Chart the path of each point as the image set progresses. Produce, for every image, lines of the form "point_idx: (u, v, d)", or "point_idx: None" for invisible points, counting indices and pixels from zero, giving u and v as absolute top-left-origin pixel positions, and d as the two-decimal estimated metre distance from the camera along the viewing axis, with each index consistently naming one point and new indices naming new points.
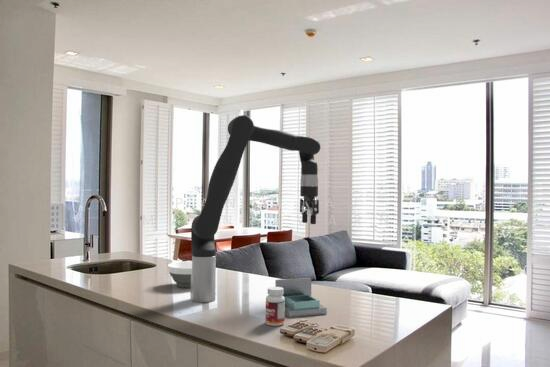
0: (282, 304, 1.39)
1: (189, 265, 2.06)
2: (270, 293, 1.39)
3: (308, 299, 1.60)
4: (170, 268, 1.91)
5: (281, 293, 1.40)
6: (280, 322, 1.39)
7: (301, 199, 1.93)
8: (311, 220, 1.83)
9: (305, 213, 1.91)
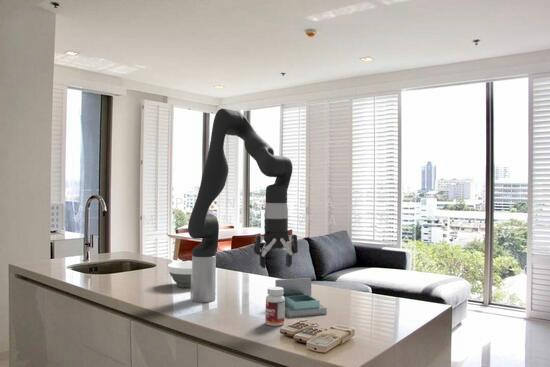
0: (282, 304, 1.39)
1: (189, 265, 2.06)
2: (270, 293, 1.39)
3: (308, 299, 1.60)
4: (170, 268, 1.91)
5: (281, 293, 1.40)
6: (280, 322, 1.39)
7: (260, 236, 1.39)
8: (290, 262, 1.42)
9: None
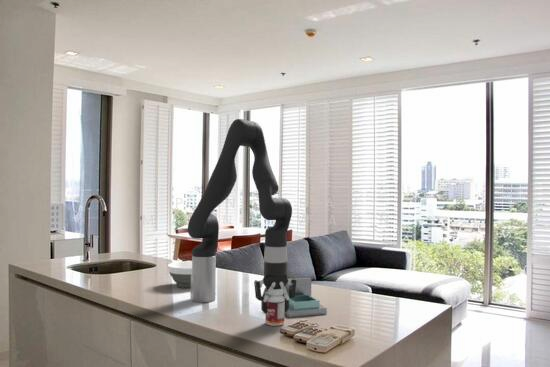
0: (282, 304, 1.39)
1: (189, 265, 2.06)
2: None
3: (308, 299, 1.60)
4: (170, 268, 1.91)
5: (281, 293, 1.40)
6: (280, 322, 1.39)
7: (259, 282, 1.38)
8: (286, 307, 1.42)
9: None
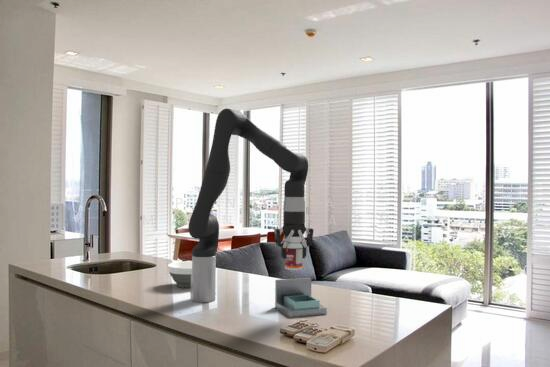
0: (300, 250, 1.50)
1: (189, 265, 2.06)
2: None
3: (308, 299, 1.60)
4: (170, 268, 1.91)
5: (299, 240, 1.50)
6: (298, 267, 1.49)
7: (279, 229, 1.49)
8: (304, 254, 1.52)
9: None
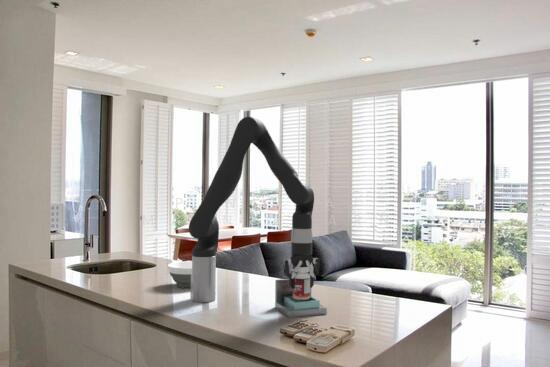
0: (308, 280, 1.54)
1: (189, 265, 2.06)
2: None
3: (308, 299, 1.60)
4: (170, 268, 1.91)
5: (307, 270, 1.55)
6: (307, 296, 1.54)
7: (287, 260, 1.54)
8: (311, 283, 1.57)
9: None
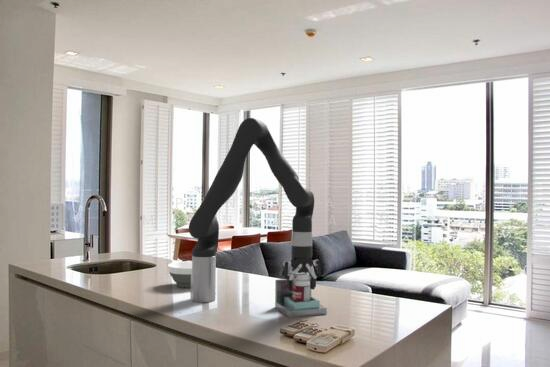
0: (308, 288, 1.54)
1: (189, 265, 2.06)
2: (297, 278, 1.54)
3: None
4: (170, 268, 1.91)
5: (307, 278, 1.55)
6: None
7: (288, 262, 1.54)
8: (314, 285, 1.57)
9: None
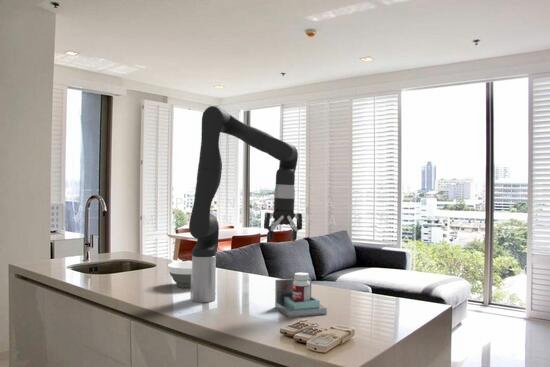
0: (308, 288, 1.54)
1: (189, 265, 2.06)
2: (297, 278, 1.54)
3: None
4: (170, 268, 1.91)
5: (307, 278, 1.55)
6: None
7: (270, 213, 1.59)
8: (295, 237, 1.62)
9: None
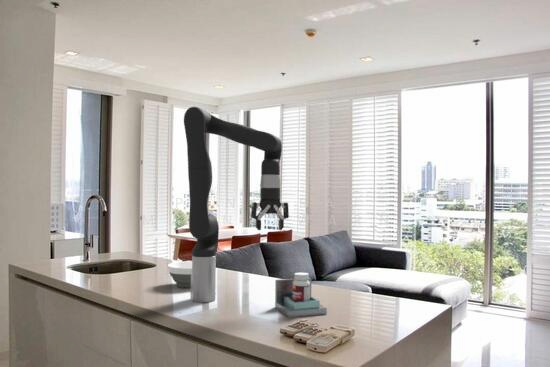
0: (308, 288, 1.54)
1: (189, 265, 2.06)
2: (297, 278, 1.55)
3: None
4: (170, 268, 1.91)
5: (307, 278, 1.55)
6: None
7: (256, 203, 1.63)
8: (282, 225, 1.66)
9: None
